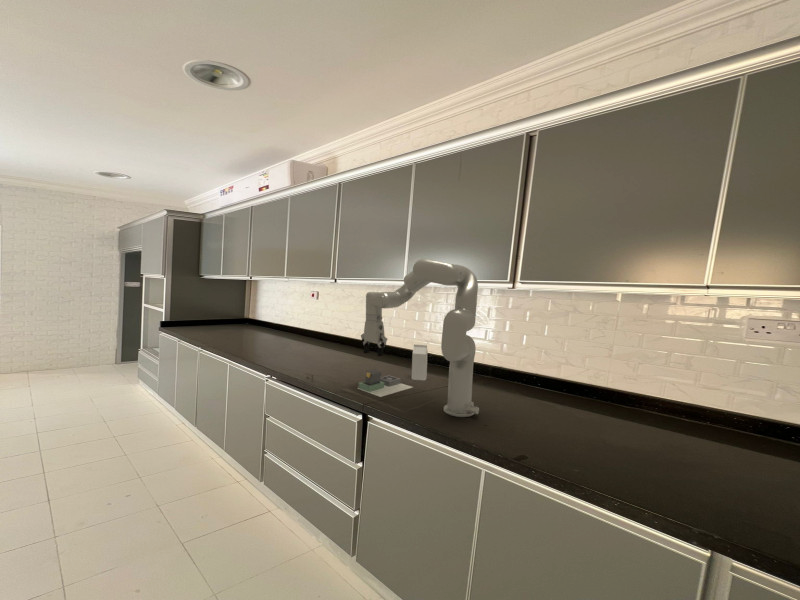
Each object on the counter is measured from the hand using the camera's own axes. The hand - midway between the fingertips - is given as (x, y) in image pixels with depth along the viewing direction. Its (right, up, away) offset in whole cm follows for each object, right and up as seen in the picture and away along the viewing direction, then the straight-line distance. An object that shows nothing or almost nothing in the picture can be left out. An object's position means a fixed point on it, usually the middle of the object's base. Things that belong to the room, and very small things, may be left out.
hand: (373, 354), depth 165 cm
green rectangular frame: (-1, -16, +1) cm, 16 cm away
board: (+6, -18, +3) cm, 19 cm away
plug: (-1, -16, +1) cm, 16 cm away
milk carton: (+23, -17, +21) cm, 36 cm away
